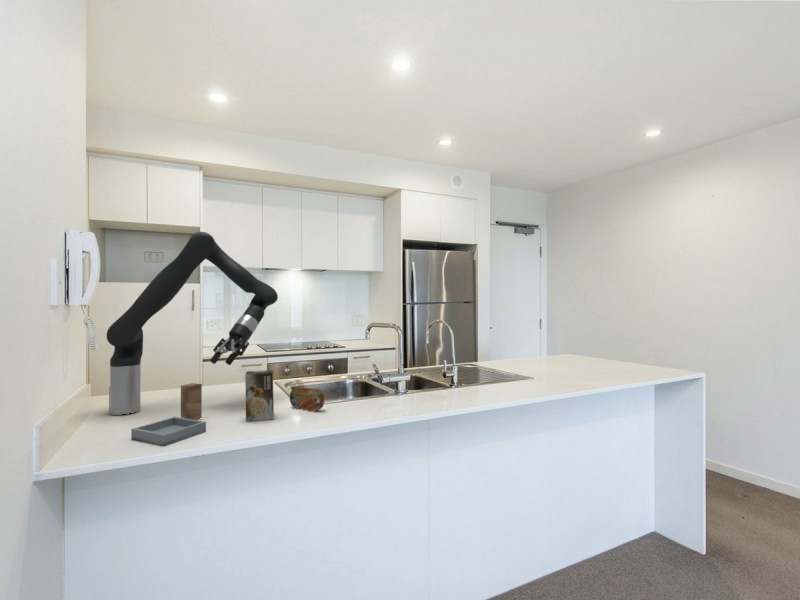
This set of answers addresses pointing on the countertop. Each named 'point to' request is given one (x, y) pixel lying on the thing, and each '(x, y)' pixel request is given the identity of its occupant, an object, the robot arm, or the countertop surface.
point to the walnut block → (191, 401)
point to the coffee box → (259, 395)
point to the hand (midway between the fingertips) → (219, 363)
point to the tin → (307, 398)
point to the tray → (168, 431)
